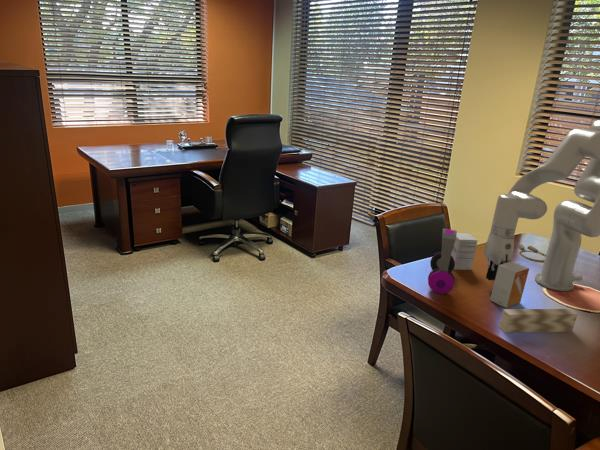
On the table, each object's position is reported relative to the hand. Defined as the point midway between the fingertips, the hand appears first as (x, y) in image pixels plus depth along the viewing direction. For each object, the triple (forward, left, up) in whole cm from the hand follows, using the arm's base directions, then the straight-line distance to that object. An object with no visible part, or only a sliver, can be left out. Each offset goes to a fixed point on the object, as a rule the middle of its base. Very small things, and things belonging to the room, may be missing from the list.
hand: (491, 279), depth 157 cm
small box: (0, +10, -4) cm, 11 cm away
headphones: (+17, -4, -4) cm, 18 cm away
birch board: (0, +26, -3) cm, 27 cm away
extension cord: (-37, -30, -4) cm, 48 cm away
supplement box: (+3, -18, -4) cm, 19 cm away
